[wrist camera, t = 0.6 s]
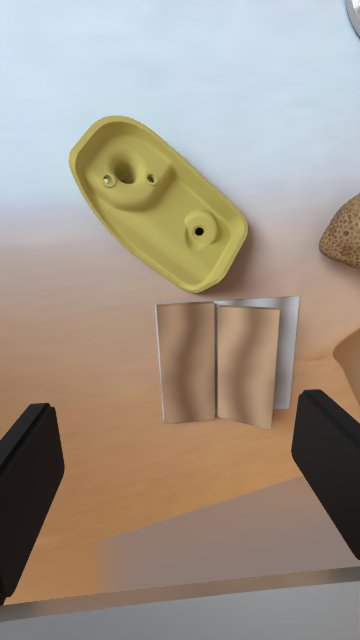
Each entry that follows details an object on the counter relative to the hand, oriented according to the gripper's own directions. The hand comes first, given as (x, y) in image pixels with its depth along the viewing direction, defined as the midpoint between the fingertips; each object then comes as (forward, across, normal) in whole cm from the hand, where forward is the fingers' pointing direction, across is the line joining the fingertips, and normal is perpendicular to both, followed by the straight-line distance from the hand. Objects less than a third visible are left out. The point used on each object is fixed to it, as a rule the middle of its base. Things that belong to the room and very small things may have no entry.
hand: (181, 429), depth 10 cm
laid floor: (+27, -9, +10) cm, 30 cm away
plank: (+25, -12, +10) cm, 29 cm away
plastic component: (+27, 0, -11) cm, 29 cm away
